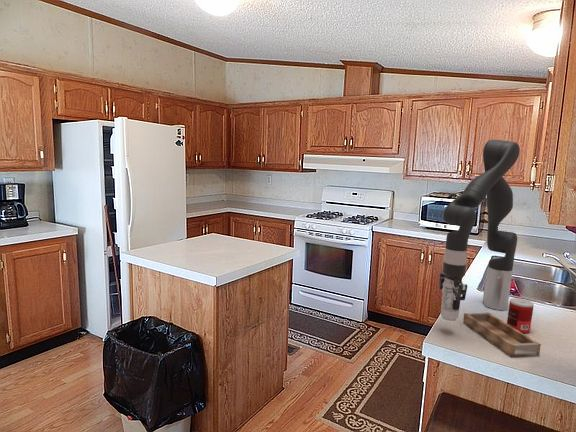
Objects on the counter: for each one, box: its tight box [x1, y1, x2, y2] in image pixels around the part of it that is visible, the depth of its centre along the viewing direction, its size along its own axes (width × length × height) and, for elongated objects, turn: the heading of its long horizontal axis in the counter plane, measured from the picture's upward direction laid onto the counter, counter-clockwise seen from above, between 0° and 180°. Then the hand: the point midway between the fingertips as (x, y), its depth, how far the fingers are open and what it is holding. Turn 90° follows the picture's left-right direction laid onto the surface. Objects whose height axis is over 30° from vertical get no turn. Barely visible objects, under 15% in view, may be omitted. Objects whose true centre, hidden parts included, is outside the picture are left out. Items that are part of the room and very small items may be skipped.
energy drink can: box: [440, 277, 460, 322], centre depth 144 cm, size 6×6×15 cm
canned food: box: [506, 297, 535, 335], centre depth 149 cm, size 8×8×11 cm
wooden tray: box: [462, 312, 542, 358], centre depth 142 cm, size 26×10×4 cm, turn 10°
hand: (450, 305), depth 144 cm, fingers closed on energy drink can, 6 cm apart
